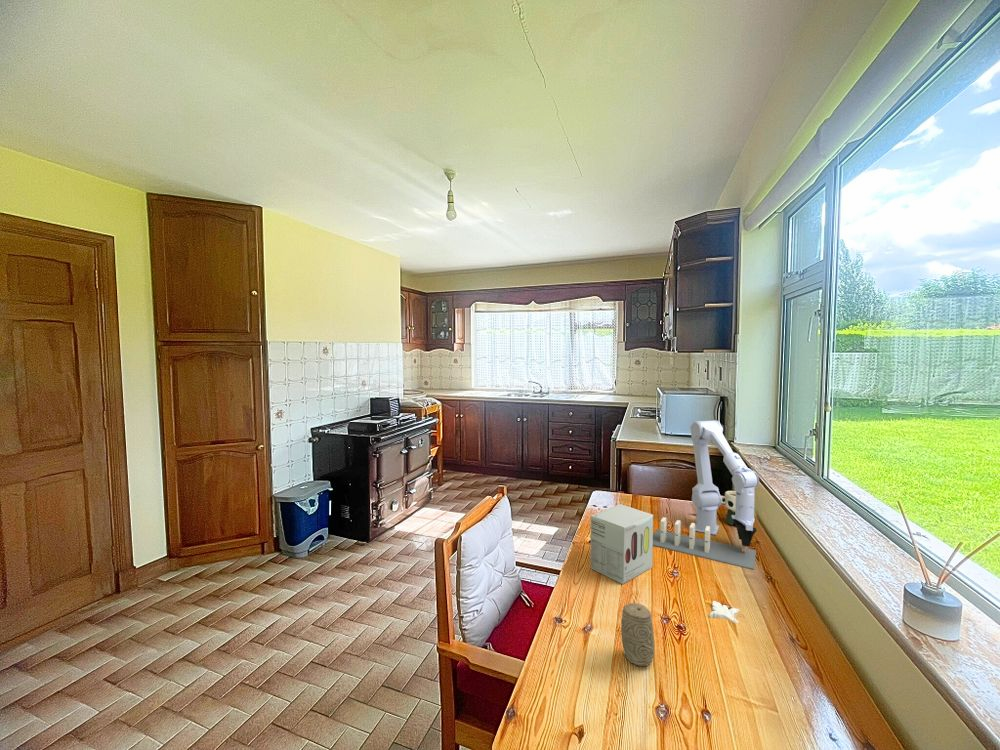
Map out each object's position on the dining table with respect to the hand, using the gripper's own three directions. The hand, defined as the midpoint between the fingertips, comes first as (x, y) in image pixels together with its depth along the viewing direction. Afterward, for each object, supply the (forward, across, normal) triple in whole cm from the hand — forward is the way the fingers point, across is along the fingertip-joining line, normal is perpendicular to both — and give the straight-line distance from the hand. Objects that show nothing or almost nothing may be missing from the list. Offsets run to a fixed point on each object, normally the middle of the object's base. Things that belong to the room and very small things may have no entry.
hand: (744, 542), depth 147 cm
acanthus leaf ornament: (+4, +41, -13) cm, 43 cm away
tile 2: (+3, 0, -22) cm, 22 cm away
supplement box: (+4, +24, -41) cm, 48 cm away
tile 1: (+3, -1, -27) cm, 27 cm away
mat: (+4, +1, -14) cm, 15 cm away
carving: (+4, +66, -35) cm, 75 cm away
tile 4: (+3, +3, -12) cm, 13 cm away
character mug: (+4, -26, +2) cm, 27 cm away
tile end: (+2, 0, 0) cm, 2 cm away
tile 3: (+3, +2, -17) cm, 17 cm away
